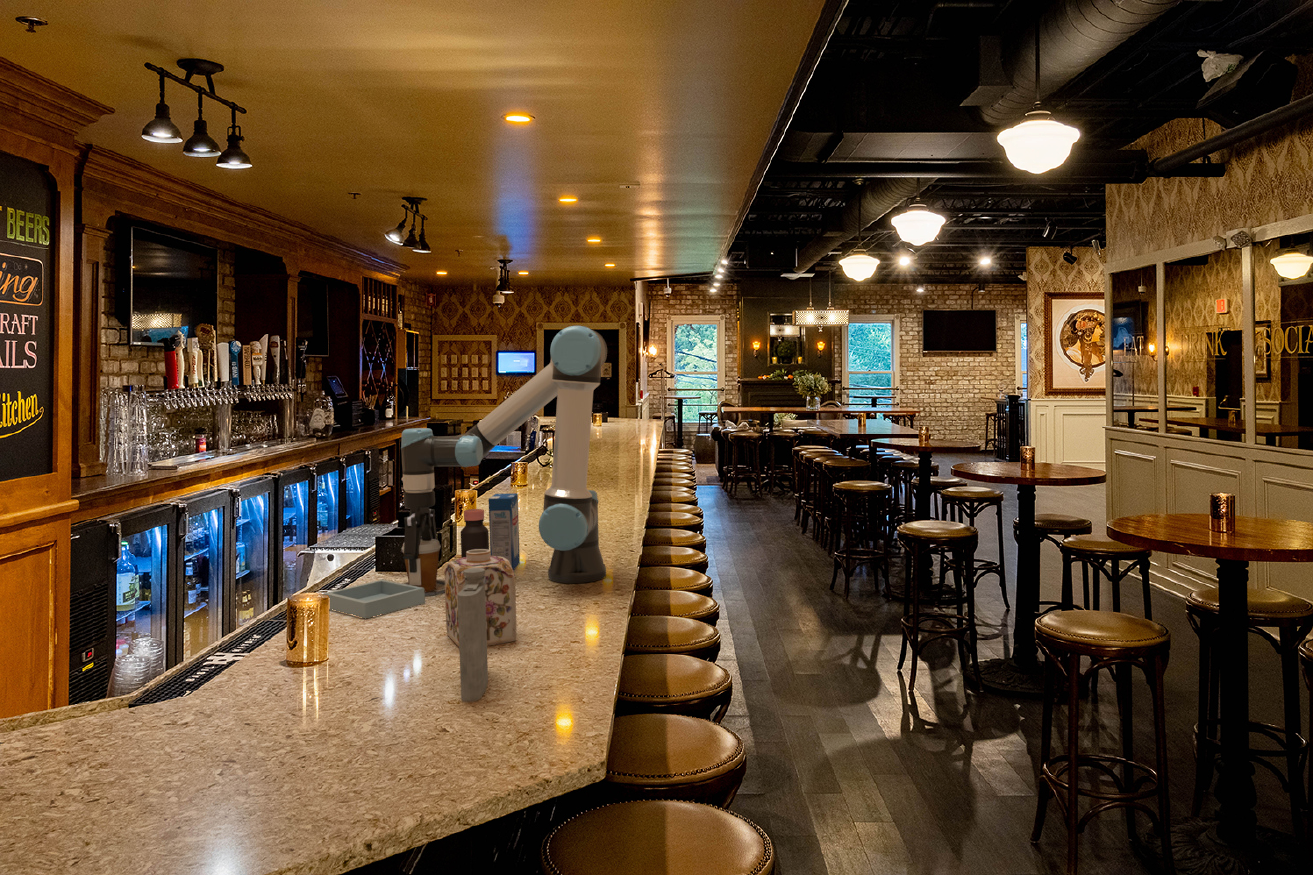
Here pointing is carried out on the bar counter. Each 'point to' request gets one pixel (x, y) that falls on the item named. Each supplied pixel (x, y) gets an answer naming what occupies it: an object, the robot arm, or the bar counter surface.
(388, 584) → the bin
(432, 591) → the collar
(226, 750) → the bar counter surface
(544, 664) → the bar counter surface
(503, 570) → the decorative jar
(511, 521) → the milk carton
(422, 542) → the disposable coffee cup
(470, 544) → the bottle
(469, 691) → the hip flask
